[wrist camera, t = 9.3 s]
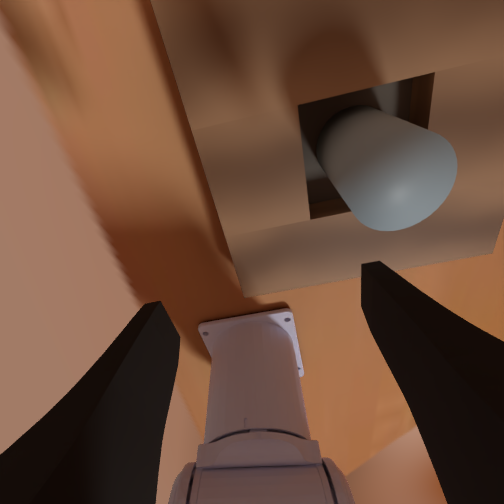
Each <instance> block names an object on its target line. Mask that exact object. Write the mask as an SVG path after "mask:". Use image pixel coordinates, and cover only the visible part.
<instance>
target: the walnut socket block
mask: <svg viewBox="0 0 504 504" xmlns="http://www.w3.org/2000/svg"><path fill="white" fill-rule="evenodd" d="M150 1H151V4H152V7H153V10H154V14H155V17H156V20H157V23H158V26H159V29H160V33H161V36H162V39H163V42H164V45H165V48H166V51H167V55H168V58H169V61H170V64H171V67H172V70H173V74H174V77H175V80H176V83H177V86H178V89H179V93H180V96H181V99H182V102H183V105H184V108H185V112H186V115H187V118H188V121H189V124H190V127H191V131H192V134H193V137H194V140H195V143H196V146H197V150H198V153H199V156H200V159H201V162H202V165H203V169H204V172H205V175H206V178H207V181H208V184H209V188H210V191H211V194H212V197H213V200H214V203H215V207H216V210H217V213H218V216H219V219H220V222H221V225H222V229H223V232H224V235H225V238H226V241H227V244H228V248H229V251H230V254H231V257H232V260H233V263H234V267H235V270H236V273H237V276H238V279H239V282H240V286H241V289H242V292H243V295H244V298H247V297H253V296H259V295H264V294H270V293H275V292H281V291H286V290H292V289H297V288H303V287H308V286H314V285H320V284H325V283H331V282H336V281H342V280H347V279H353V278H358V277H361V264H363V263H369V262H374V261H381V262H382V263H384V264H385V265H386V266H388V267H389V268H390V269H392V270H393V271H397V270H403V269H408V268H414V267H419V266H425V265H430V264H436V263H441V262H447V261H453V260H458V259H464V258H469V257H475V256H480V255H486V254H491V253H493V250H494V247H495V244H496V241H497V237H498V234H499V231H500V228H501V225H502V222H503V219H504V0H150ZM355 105H365V106H370V107H372V108H375V109H377V110H380V111H382V112H385V113H387V114H390V115H392V116H395V117H397V118H400V119H402V120H405V121H407V122H410V123H412V124H415V125H417V126H420V127H422V128H425V129H427V130H430V131H432V132H434V133H437V134H439V135H441V136H442V137H444V138H445V139H446V140H447V141H448V142H449V143H450V144H451V146H452V147H453V149H454V151H455V154H456V158H457V174H456V179H455V182H454V185H453V187H452V189H451V191H450V193H449V195H448V196H447V198H446V199H445V201H444V202H443V203H442V204H441V205H440V206H439V208H438V209H437V210H436V211H434V212H433V213H432V214H431V215H430V216H428V217H427V218H426V219H424V220H422V221H421V222H419V223H417V224H415V225H413V226H410V227H408V228H405V229H401V230H395V231H379V230H374V229H372V228H369V227H367V226H365V225H364V224H362V223H361V222H360V221H359V220H358V219H357V218H356V217H355V215H354V214H353V213H352V211H351V210H350V208H349V207H348V205H347V204H346V202H345V201H344V200H343V198H342V197H341V195H340V194H339V192H338V191H337V189H336V188H335V187H334V185H333V184H332V182H331V181H330V179H329V178H328V176H327V175H326V174H325V172H324V171H323V169H322V168H321V166H320V164H319V162H318V159H317V152H316V148H317V141H318V138H319V135H320V133H321V130H322V129H323V127H324V125H325V124H326V123H327V122H328V120H329V119H330V118H331V117H332V116H334V115H335V114H336V113H338V112H339V111H341V110H343V109H345V108H348V107H350V106H355Z"/></svg>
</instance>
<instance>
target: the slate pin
mask: <svg viewBox="0 0 504 504" xmlns="http://www.w3.org/2000/svg"><path fill="white" fill-rule="evenodd" d="M316 152H317V159H318V162H319V164H320V166H321V168H322V169H323V171H324V172H325V174H326V175H327V176H328V178H329V179H330V181H331V182H332V184H333V185H334V187H335V188H336V189H337V191H338V192H339V194H340V195H341V197H342V198H343V200H344V201H345V202H346V204H347V205H348V207H349V208H350V210H351V211H352V213H353V214H354V215H355V217H356V218H357V219H358V220H359V221H360V222H361V223H362V224H364V225H365V226H367V227H369V228H372V229H374V230H379V231H395V230H401V229H405V228H408V227H410V226H413V225H415V224H417V223H419V222H421V221H422V220H424V219H426V218H427V217H428V216H430V215H431V214H432V213H433V212H434V211H436V210H437V209H438V208H439V206H440V205H441V204H442V203H443V202H444V201H445V199H446V198H447V196H448V195H449V193H450V191H451V189H452V187H453V185H454V182H455V179H456V174H457V158H456V154H455V151H454V149H453V147H452V146H451V144H450V143H449V142H448V141H447V140H446V139H445V138H444V137H442V136H441V135H439V134H437V133H434V132H432V131H430V130H427V129H425V128H422V127H420V126H417V125H415V124H412V123H410V122H407V121H405V120H402V119H400V118H397V117H395V116H392V115H390V114H387V113H385V112H382V111H380V110H377V109H375V108H372V107H370V106H365V105H355V106H350V107H348V108H345V109H343V110H341V111H339V112H338V113H336V114H335V115H334V116H332V117H331V118H330V119H329V120H328V122H327V123H326V124H325V125H324V127H323V129H322V130H321V133H320V135H319V138H318V141H317V148H316Z"/></svg>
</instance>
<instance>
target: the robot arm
mask: <svg viewBox="0 0 504 504" xmlns="http://www.w3.org/2000/svg"><path fill="white" fill-rule="evenodd" d="M361 307H362V310H363V313H364V315H365V318H366V321H367V323H368V326H369V328H370V331H371V333H372V335H373V337H374V339H375V341H376V343H377V345H378V347H379V349H380V351H381V353H382V355H383V357H384V359H385V360H386V362H387V364H388V366H389V368H390V370H391V372H392V374H393V376H394V378H395V380H396V381H397V383H398V385H399V387H400V389H401V391H402V393H403V395H404V397H405V399H406V401H407V403H408V405H409V408H410V410H411V412H412V415H413V417H414V420H415V422H416V424H417V427H418V429H419V432H420V434H421V437H422V439H423V441H424V444H425V446H426V449H427V452H428V454H429V457H430V459H431V462H432V464H433V467H434V469H435V471H436V474H437V477H438V480H439V482H440V485H441V487H442V490H443V493H444V496H445V498H446V501H447V503H448V504H504V342H503V341H502V340H500V339H498V338H496V337H494V336H492V335H490V334H489V333H487V332H485V331H483V330H481V329H480V328H478V327H476V326H474V325H473V324H471V323H469V322H468V321H466V320H464V319H463V318H461V317H460V316H458V315H456V314H455V313H453V312H451V311H450V310H448V309H447V308H445V307H444V306H442V305H441V304H439V303H438V302H436V301H435V300H433V299H432V298H430V297H429V296H428V295H426V294H425V293H423V292H422V291H420V290H419V289H417V288H416V287H415V286H413V285H412V284H411V283H409V282H408V281H406V280H405V279H404V278H402V277H401V276H400V275H398V274H397V273H396V272H394V271H393V270H392V269H390V268H389V267H388V266H386V265H385V264H384V263H382V262H381V261H374V262H369V263H363V264H361ZM198 331H199V333H200V335H201V337H202V339H203V341H204V343H205V345H206V348H207V350H208V352H209V354H210V356H211V358H212V363H211V374H210V384H209V395H208V405H207V416H206V426H205V437H204V444H200V445H199V446H198V452H197V461H196V462H191V463H187V464H186V465H185V467H184V468H183V470H182V471H181V472H180V474H179V475H178V476H177V477H176V479H175V481H174V484H173V487H172V490H171V494H170V498H169V502H168V504H355V502H354V499H353V496H352V493H351V490H350V487H349V484H348V482H347V480H346V478H345V476H344V474H343V473H342V471H341V470H340V469H339V468H338V467H337V466H336V465H335V463H334V462H333V461H332V460H331V459H330V458H321V454H320V449H319V444H318V441H317V440H311V437H310V432H309V426H308V421H307V415H306V409H305V404H304V398H303V393H302V387H301V382H300V377H302V376H303V375H304V371H303V365H302V360H301V355H300V350H299V345H298V340H297V334H296V329H295V324H294V319H293V314H292V310H291V309H288V308H284V309H279V310H273V311H267V312H261V313H256V314H250V315H244V316H238V317H233V318H227V319H221V320H216V321H210V322H204V323H200V324H199V326H198ZM179 349H180V336H179V334H178V332H177V330H176V328H175V326H174V325H173V323H172V321H171V319H170V317H169V315H168V314H167V312H166V310H165V308H164V306H163V305H162V303H161V301H158V302H152V303H147V304H144V305H143V306H142V308H141V309H140V310H139V311H138V312H137V313H136V315H135V316H134V317H133V318H132V319H131V321H130V322H129V323H128V324H127V326H126V327H125V328H124V329H123V331H122V332H121V333H120V334H119V335H118V337H117V338H116V339H115V340H114V341H113V343H112V344H111V345H110V346H109V347H108V349H107V350H106V351H105V352H104V354H103V355H102V356H101V357H100V358H99V359H98V360H97V361H96V362H95V364H94V365H93V366H92V367H91V368H90V369H89V370H88V371H87V373H86V374H85V375H84V376H83V377H82V378H81V379H80V380H79V381H78V383H77V384H76V385H75V386H74V387H73V388H72V389H71V390H70V391H69V392H68V393H67V394H66V395H65V396H64V397H63V398H62V399H61V400H60V401H59V402H58V403H57V404H56V405H55V406H54V407H53V408H52V409H51V410H50V411H49V412H48V413H47V414H46V415H45V416H44V417H43V418H41V419H40V420H39V421H38V422H37V423H36V424H35V425H34V426H32V427H31V428H30V429H29V430H28V431H27V432H26V433H25V434H23V435H22V436H21V437H20V438H19V439H18V440H17V441H16V442H15V443H13V444H12V445H11V446H10V447H9V448H8V449H7V450H5V451H4V452H3V453H2V454H1V455H0V504H155V503H156V493H157V482H158V472H159V464H160V456H161V447H162V440H163V434H164V428H165V424H166V418H167V414H168V410H169V405H170V400H171V396H172V391H173V387H174V382H175V377H176V372H177V367H178V360H179Z"/></svg>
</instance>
